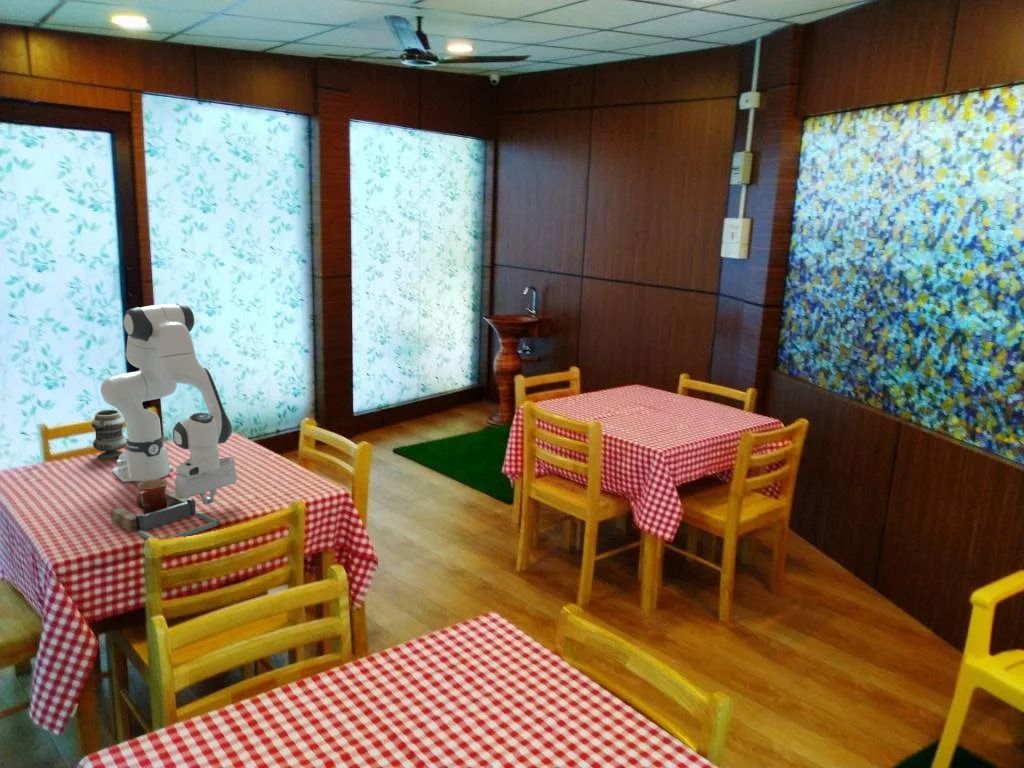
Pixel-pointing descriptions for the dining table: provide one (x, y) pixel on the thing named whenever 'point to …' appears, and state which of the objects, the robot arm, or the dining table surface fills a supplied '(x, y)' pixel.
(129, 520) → the wooden blocks
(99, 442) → the apothecary jar
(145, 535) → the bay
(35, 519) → the dining table surface
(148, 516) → the gate
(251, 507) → the dining table surface
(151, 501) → the mug
